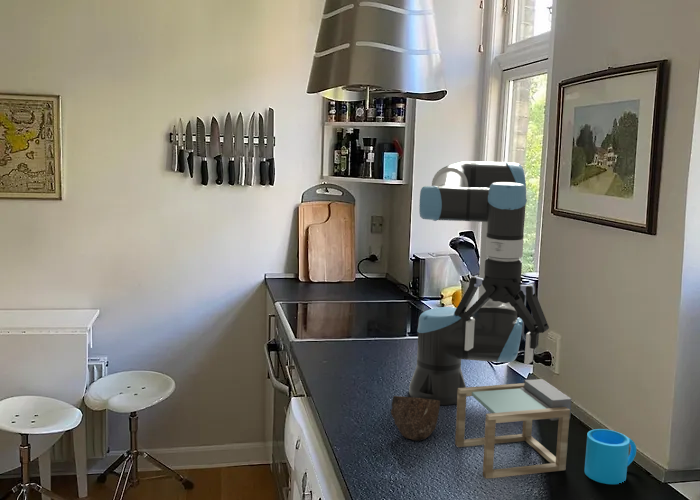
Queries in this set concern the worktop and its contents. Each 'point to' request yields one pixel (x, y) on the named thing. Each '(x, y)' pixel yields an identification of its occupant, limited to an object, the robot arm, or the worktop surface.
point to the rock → (415, 416)
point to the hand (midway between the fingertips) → (497, 355)
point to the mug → (608, 456)
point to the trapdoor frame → (525, 416)
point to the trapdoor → (524, 398)
